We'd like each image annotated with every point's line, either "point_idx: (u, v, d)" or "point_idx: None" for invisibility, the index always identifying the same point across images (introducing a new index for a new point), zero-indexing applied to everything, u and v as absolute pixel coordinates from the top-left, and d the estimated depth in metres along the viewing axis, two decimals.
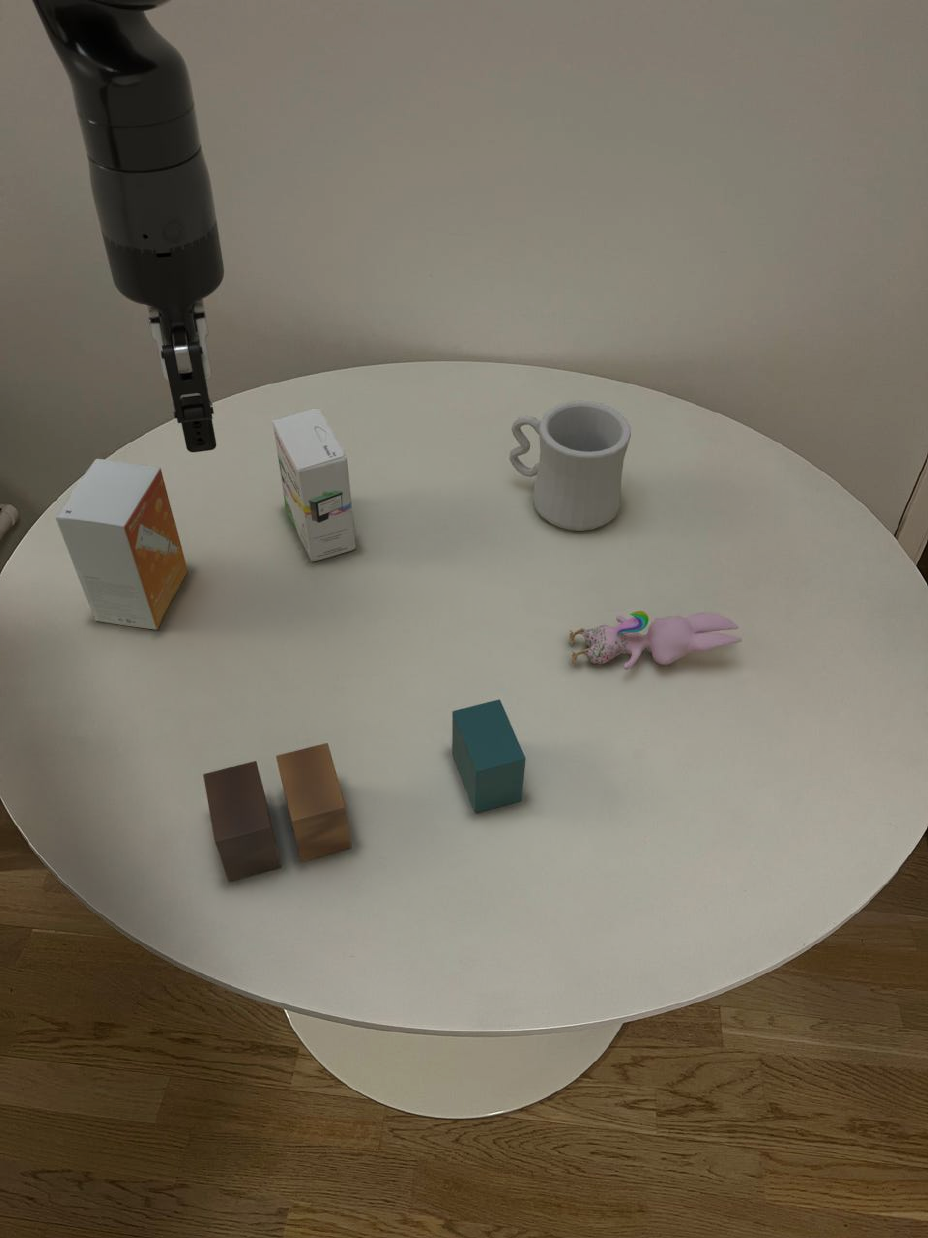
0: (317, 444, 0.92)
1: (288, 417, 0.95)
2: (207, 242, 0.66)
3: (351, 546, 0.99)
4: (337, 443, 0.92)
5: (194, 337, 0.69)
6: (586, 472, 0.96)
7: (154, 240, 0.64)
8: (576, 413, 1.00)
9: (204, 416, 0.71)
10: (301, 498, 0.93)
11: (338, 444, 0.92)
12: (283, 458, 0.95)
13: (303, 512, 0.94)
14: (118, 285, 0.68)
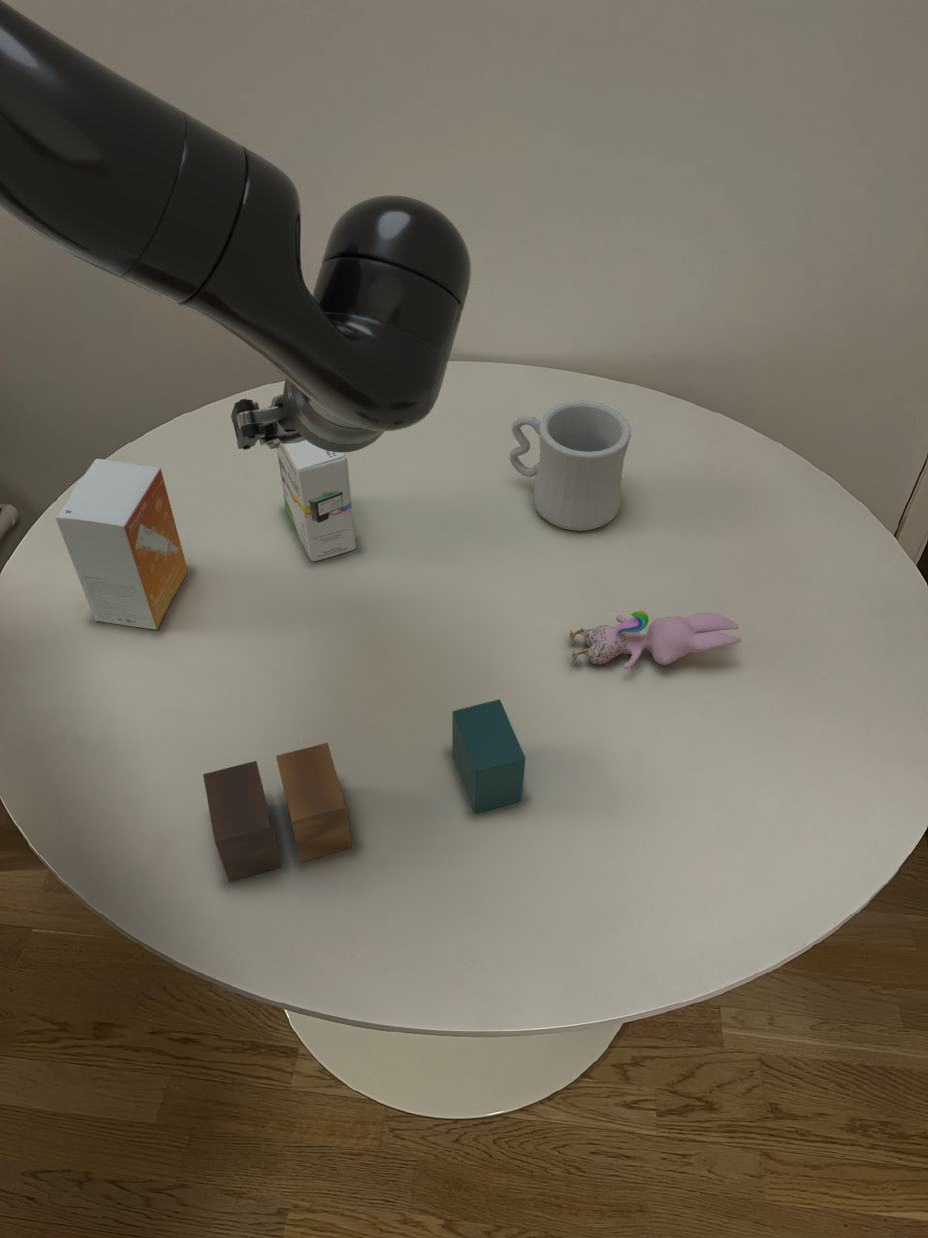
0: None
1: None
2: (318, 438, 0.65)
3: (351, 546, 0.99)
4: None
5: (283, 427, 0.70)
6: (586, 472, 0.96)
7: (287, 387, 0.63)
8: (576, 413, 1.00)
9: (238, 441, 0.73)
10: (301, 498, 0.93)
11: None
12: (283, 458, 0.95)
13: (303, 512, 0.94)
14: None
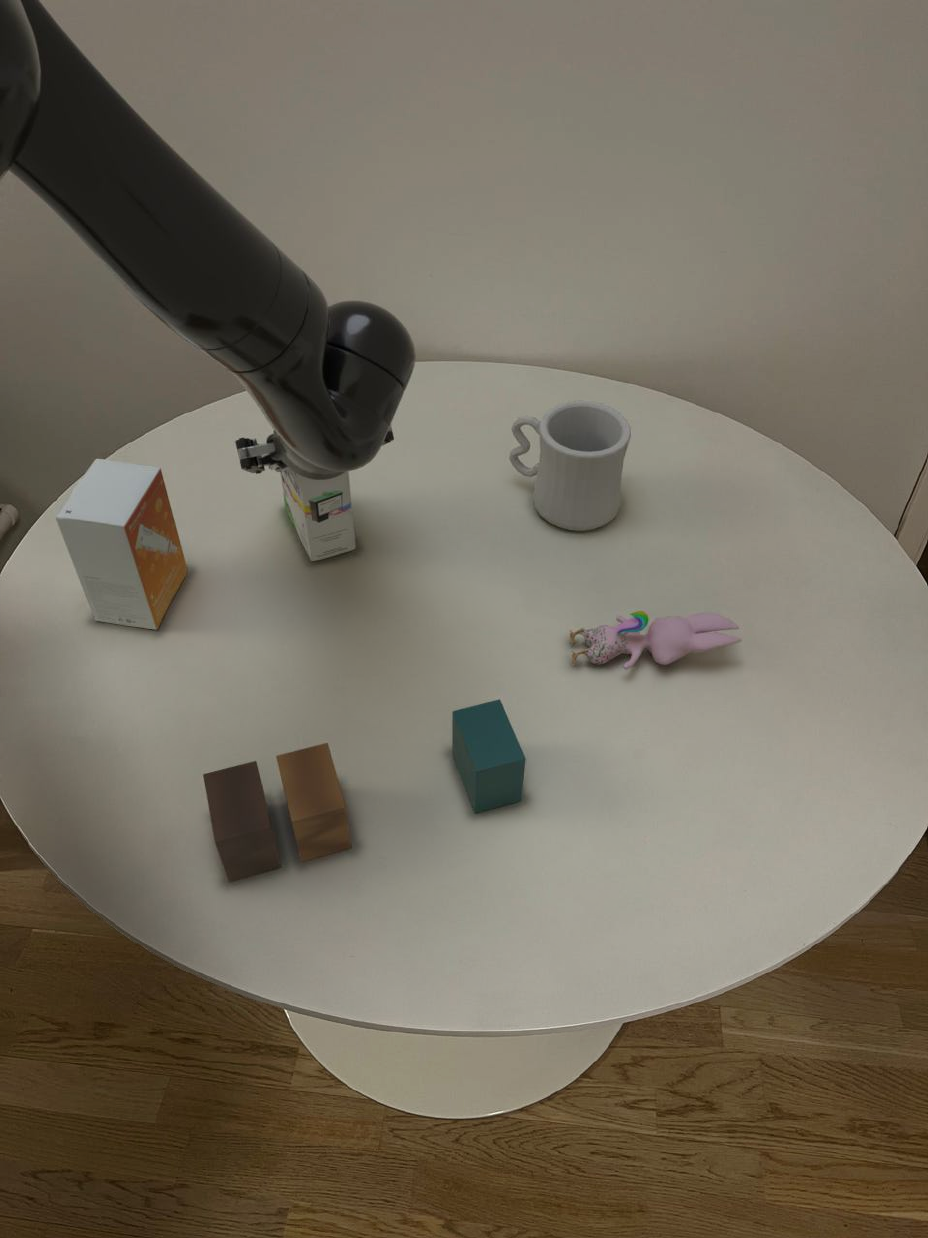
0: None
1: None
2: (301, 469, 0.81)
3: (351, 546, 0.99)
4: None
5: (273, 459, 0.86)
6: (586, 472, 0.96)
7: None
8: (576, 413, 1.00)
9: None
10: (301, 498, 0.93)
11: None
12: None
13: (303, 512, 0.94)
14: None
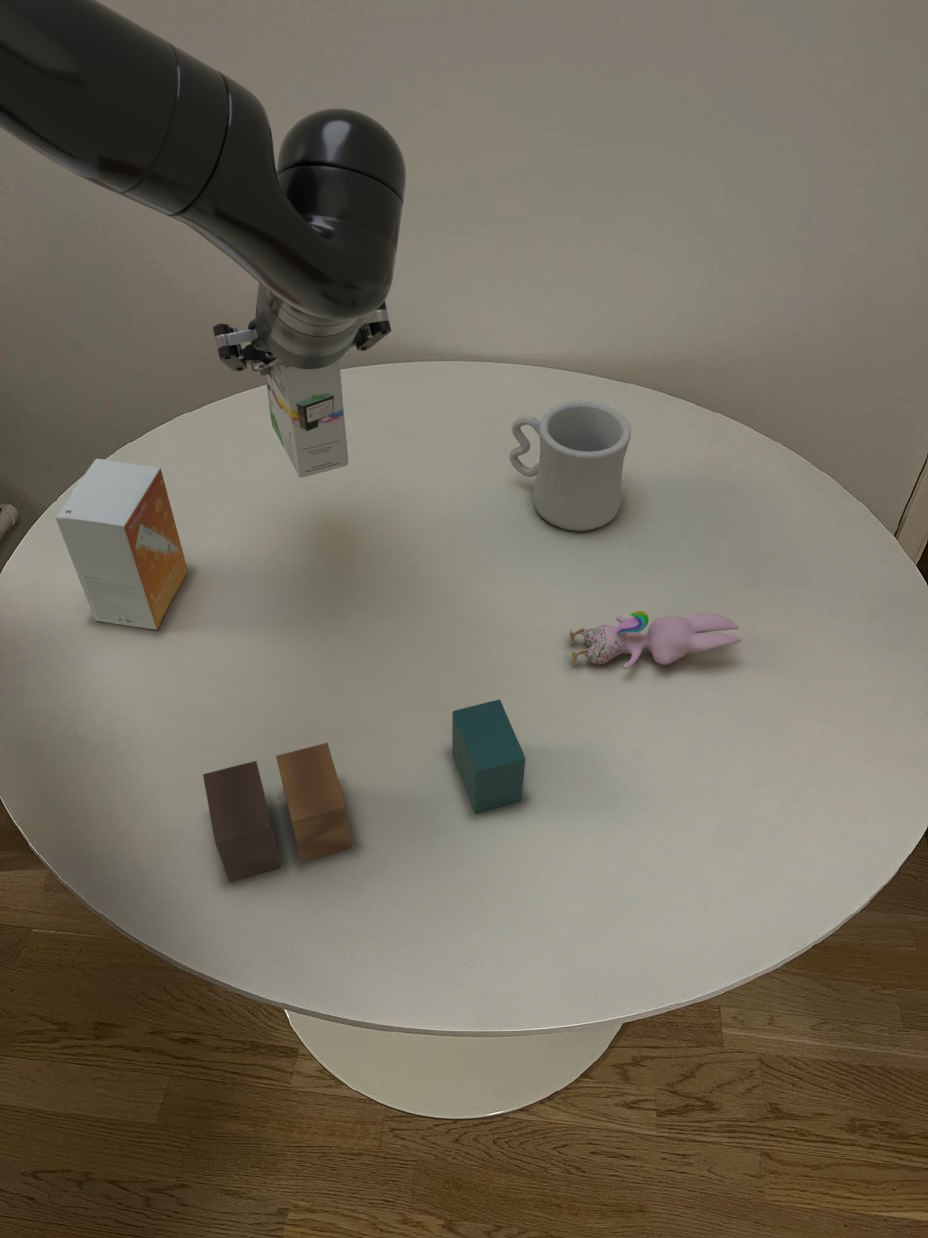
0: None
1: None
2: (286, 351, 0.71)
3: (343, 462, 0.90)
4: None
5: (255, 348, 0.77)
6: (586, 472, 0.96)
7: (257, 304, 0.70)
8: (576, 413, 1.00)
9: None
10: (287, 401, 0.83)
11: None
12: None
13: (290, 418, 0.85)
14: None
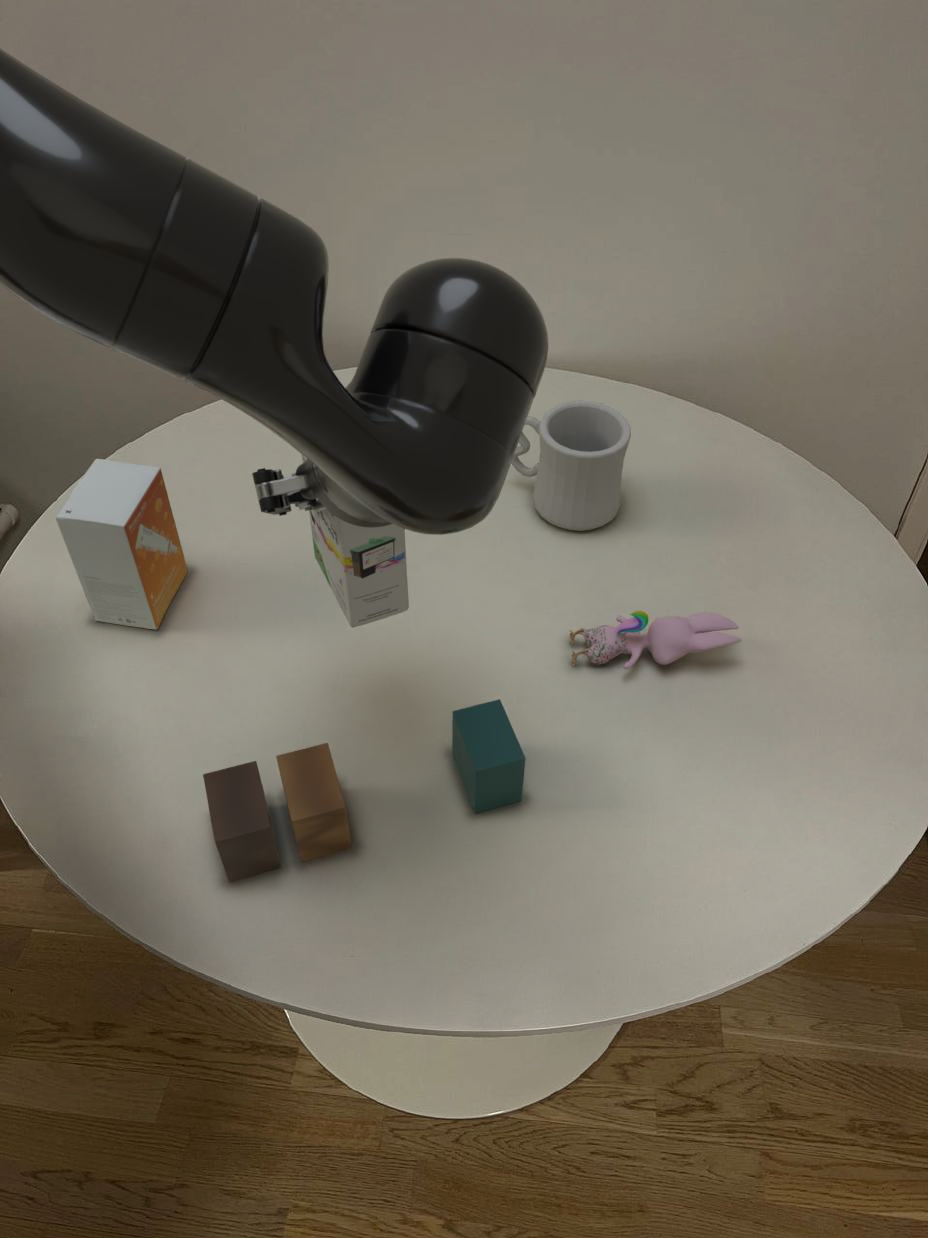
0: None
1: None
2: (348, 515, 0.57)
3: (403, 607, 0.75)
4: None
5: (305, 498, 0.62)
6: (586, 472, 0.96)
7: None
8: (576, 413, 1.00)
9: None
10: (340, 547, 0.68)
11: None
12: None
13: (342, 565, 0.70)
14: None
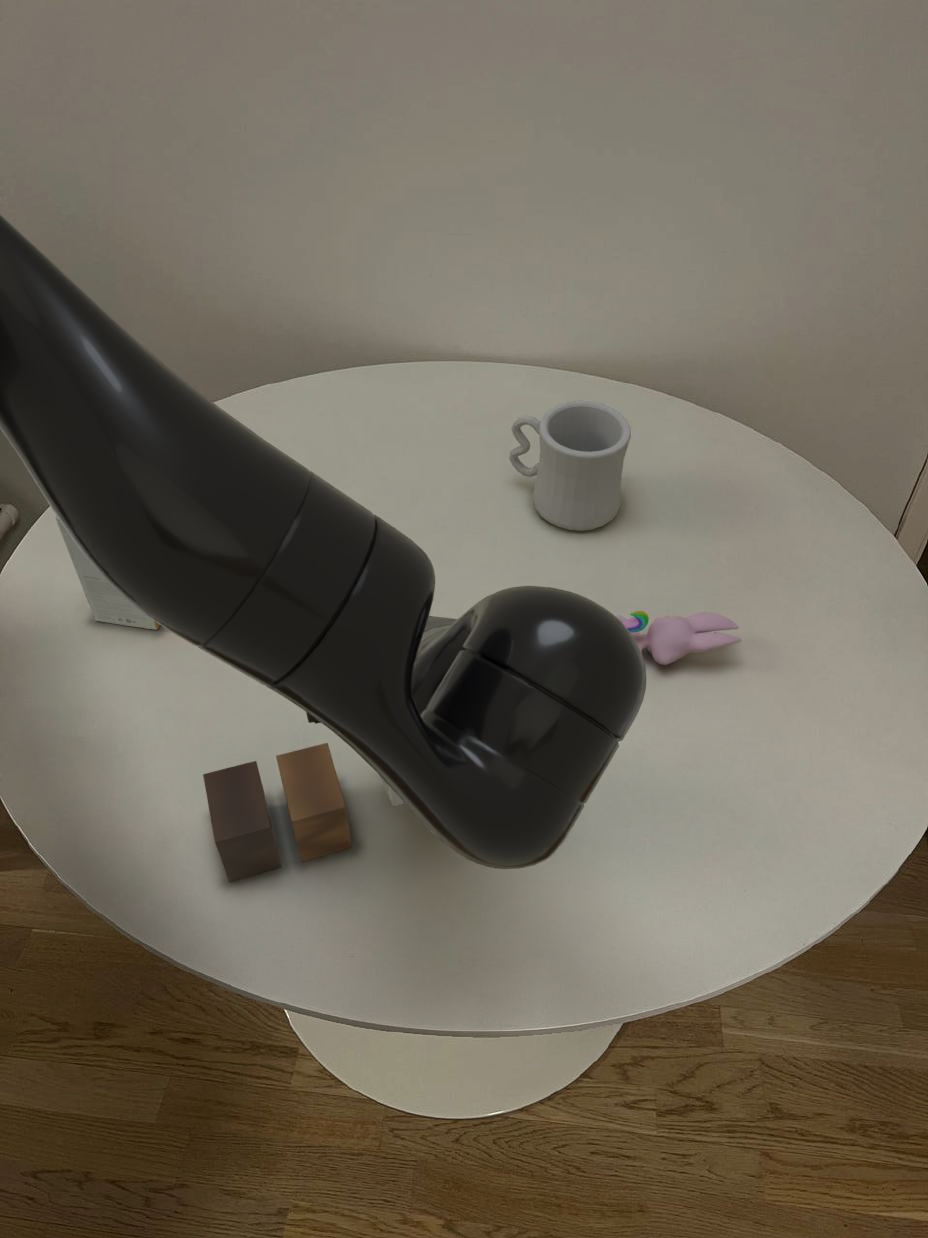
0: None
1: None
2: None
3: None
4: None
5: None
6: (586, 472, 0.96)
7: None
8: (576, 413, 1.00)
9: None
10: None
11: None
12: None
13: None
14: None
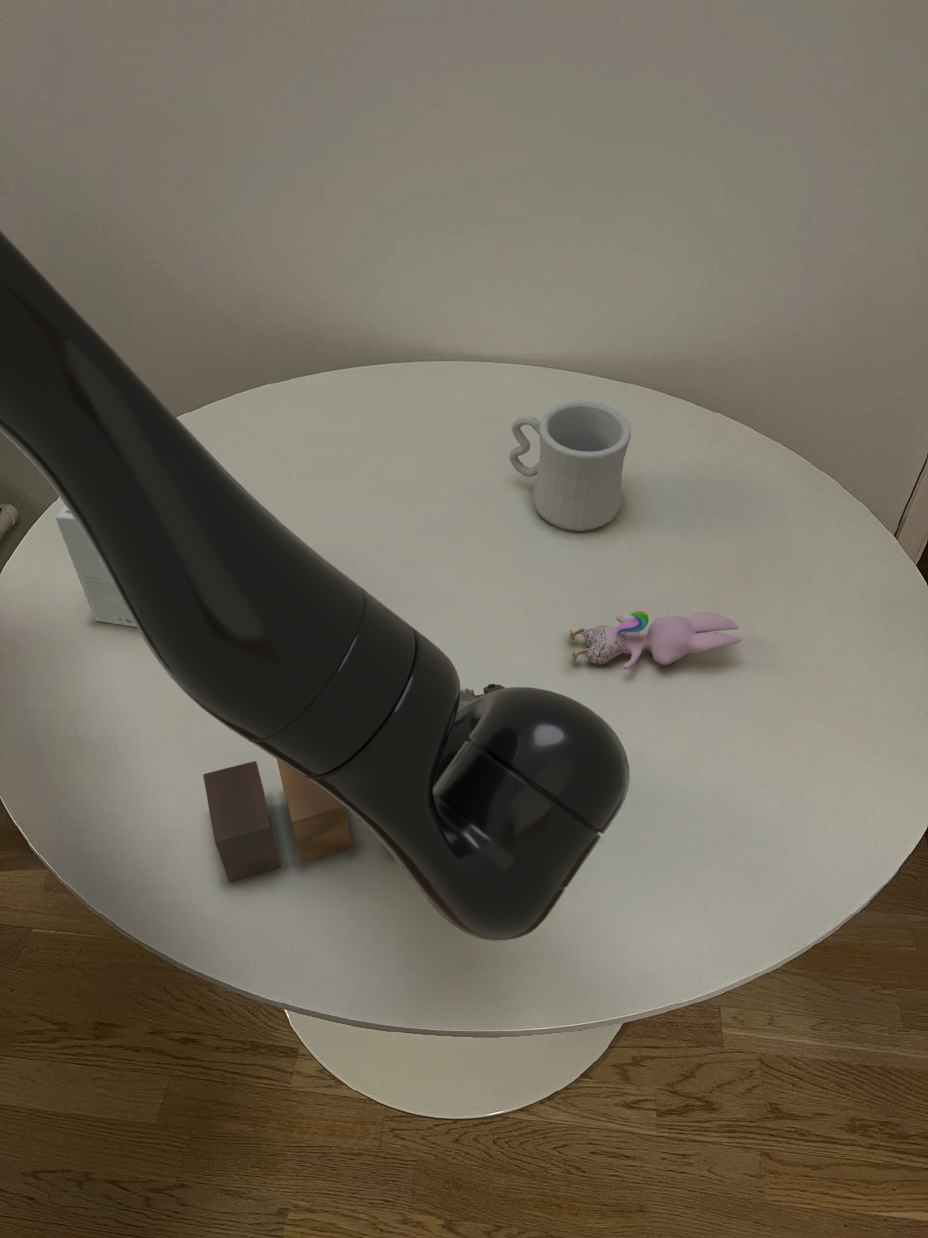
0: None
1: None
2: None
3: None
4: None
5: None
6: (586, 472, 0.96)
7: None
8: (576, 413, 1.00)
9: None
10: None
11: None
12: None
13: None
14: None
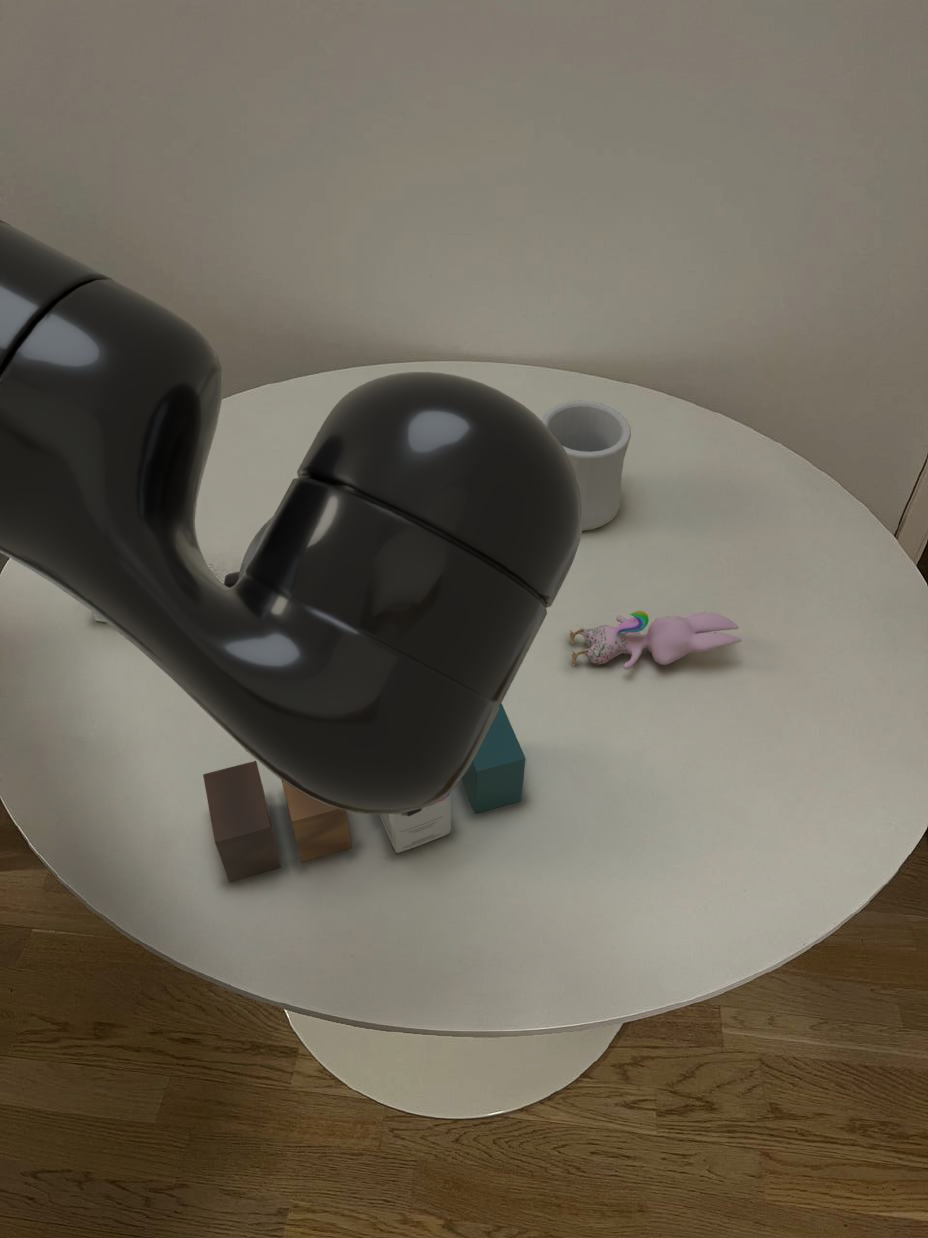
0: None
1: None
2: None
3: (445, 832, 0.78)
4: None
5: None
6: (586, 472, 0.96)
7: None
8: (576, 413, 1.00)
9: None
10: None
11: None
12: None
13: None
14: None
